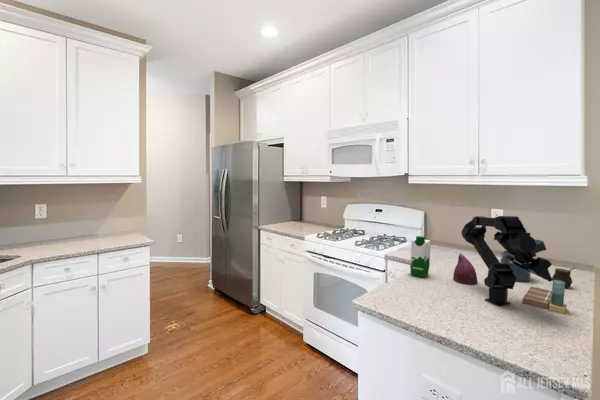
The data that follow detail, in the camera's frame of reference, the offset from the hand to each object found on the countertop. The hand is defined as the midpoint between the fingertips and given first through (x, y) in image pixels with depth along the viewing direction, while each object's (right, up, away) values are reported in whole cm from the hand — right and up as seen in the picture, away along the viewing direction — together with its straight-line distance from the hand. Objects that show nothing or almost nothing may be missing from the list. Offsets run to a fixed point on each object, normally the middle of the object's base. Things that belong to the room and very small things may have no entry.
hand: (542, 276), depth 119 cm
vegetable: (-13, -10, +32) cm, 36 cm away
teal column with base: (+6, -13, 0) cm, 14 cm away
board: (+6, -12, +11) cm, 17 cm away
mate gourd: (+30, -11, +27) cm, 42 cm away
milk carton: (-31, -9, +40) cm, 52 cm away
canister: (+16, -10, +39) cm, 43 cm away
